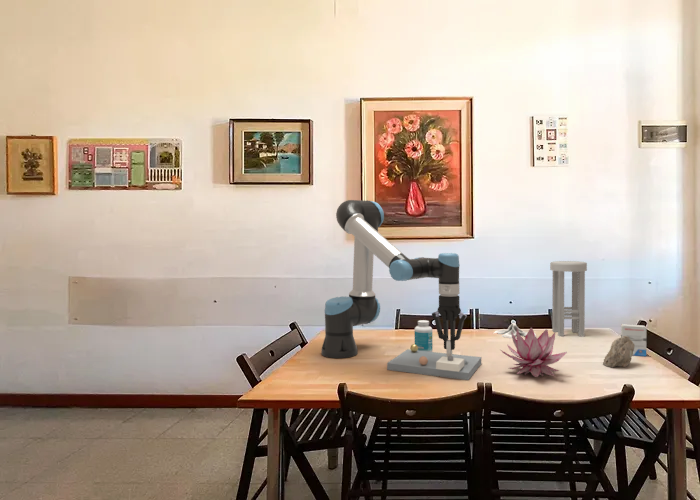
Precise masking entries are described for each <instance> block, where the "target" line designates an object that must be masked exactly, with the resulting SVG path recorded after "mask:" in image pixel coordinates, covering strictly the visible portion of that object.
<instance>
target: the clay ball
mask: <svg viewBox="0 0 700 500" xmlns="http://www.w3.org/2000/svg"><path fill="white" fill-rule="evenodd" d="M419 363H420V364H421V365H426V364H427V363H428V359H427V358H426V357H425V356H422V357H420V358H419Z"/></svg>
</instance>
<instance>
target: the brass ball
mask: <svg viewBox="0 0 700 500" xmlns="http://www.w3.org/2000/svg"><path fill="white" fill-rule="evenodd" d="M409 350H411V351H412V352H416V351H417V350H418V346H417V345H416V344H415V343H412V344H411V345H410V346H409Z"/></svg>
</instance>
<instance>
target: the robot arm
mask: <svg viewBox="0 0 700 500" xmlns="http://www.w3.org/2000/svg"><path fill="white" fill-rule="evenodd" d="M335 214H336V215H335V216H336V217H335V219H336V221H337V224H338V225H339V227H340V228H341V230H343V231H344V232H346V233H347V234H348V235H352V236H353V237H354V240H353V241H354V242H353V243H354V244H353V270H352V273H353V274H352V290H351V291H350V292H349V293H348V296H335V297H332V298H329V299H327V301H326V302H325V305H324V319H325V320H324V329H325V333H324V334H325V335H324V336H325V337H324V340H323V342H322V346H321V355H322V356H323V357H324V358H331V359H344V358H352V357H354V356H356V355H358V347H357V343H356V341H355V337H354V327H355V326H361V325H367V324H370V323H372V322H374V321H376V320H377V319H378V317H379V316H380V313H381V303H380V302H379V299H378V298H377V297H376V293H375V292H374V291H373V277H374V274H373V273H374V256H376V257H377V259H379V260H380V261H381V262H382V264H384V265H385V266H386V267H387V268H388V271H389V274H390V277H391V278H392V279H393V280H395V281H396V282H397V281H398V282H399V281H401V282H403V281H405V282H406V281H410V280H417V279H424V278H426V279H427V278H431V279H432V278H433V279H438V294H439V295H438V308H437V310H436V311H434V312H432V313H431V316H432V318H433V320H434V323H435V327H436V331H437V336H438V338H439V339H440V340H442V341H443V349H444V350H446V351H445V353H447V357H448V356H452V354H453V351H454V350H455V348H456V341H458V340H459V339H461V335H462V332H463V331H462V330H463V327H464V323H465V320H466V318H467V317H468V315H467V314H466V313H463V312H462V309H461V308H460V307H461V306H460V295H459V294H460V256H459V254H457V253H455V252H454V253H453V252H450V253H449V252H443V253H438V257H437V258H435V257H423V256H422V257H415V258H411V259H410V258H409V257H407V256H406V255H405V254H404V253H402V252H401V250H399V249H398V248H397V247H396V246H395V245H393V243H392V242H390V241H389V240H388V239H387V238H385V236H383V235H382V234H381V233H380V232H379V228H380V227H381V225H382V224H383V223H384V219H385V212H384V209H383V208H382V206H381V205H380V204H379V203H378V202H376V201H373V200H368V199H367V200H363V199H361V200H359V199H357V200H356V199H347V200H344V201H343V202H342V203H340V204H339V206H338V207H337V210H336V213H335ZM440 317H441V318H442V324H443V325H442V324H441V319H440ZM458 317H459V321H458V325H457V329H456V319H457V318H458ZM442 326H443V327H442ZM449 326H450V327H449ZM449 328H450V329H449Z"/></svg>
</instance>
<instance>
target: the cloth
mask: <svg viewBox="0 0 700 500" xmlns="http://www.w3.org/2000/svg"><path fill="white" fill-rule="evenodd" d="M517 328H518V331H519V334H520V336H521V337H523V336H524V337H523V338H525V337H526V335H527V333H528V331H524V330H522V329H521V328H519V327H518V326H517V324H516V323H514V322H512V323H511V324H510V325H509V326H508V328H507V329H505V328H503V329H496V330H495V331H494V332H493V334H494V333H498V334H497V335H501V338H509V339H512V334H511V331H512V332H513V334H514V336H515V338H516V340H517V337H516V336H517V335H516V332H517ZM503 334H504V335H503ZM534 334H535V336H536V337H537V333H535V332H534Z"/></svg>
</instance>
